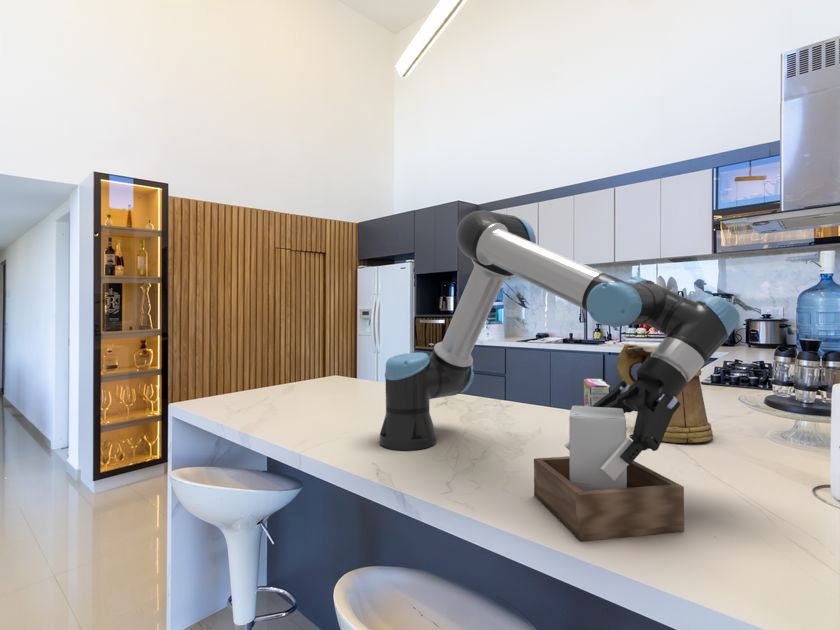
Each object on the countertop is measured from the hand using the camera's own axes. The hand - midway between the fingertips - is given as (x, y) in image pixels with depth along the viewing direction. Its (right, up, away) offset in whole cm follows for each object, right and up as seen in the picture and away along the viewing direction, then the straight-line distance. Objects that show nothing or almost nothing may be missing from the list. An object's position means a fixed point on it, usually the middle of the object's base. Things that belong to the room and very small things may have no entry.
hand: (587, 462), depth 79 cm
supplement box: (+2, -6, 0) cm, 7 cm away
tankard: (+39, -8, +49) cm, 63 cm away
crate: (+3, -9, 0) cm, 9 cm away
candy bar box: (+17, -8, +39) cm, 43 cm away
